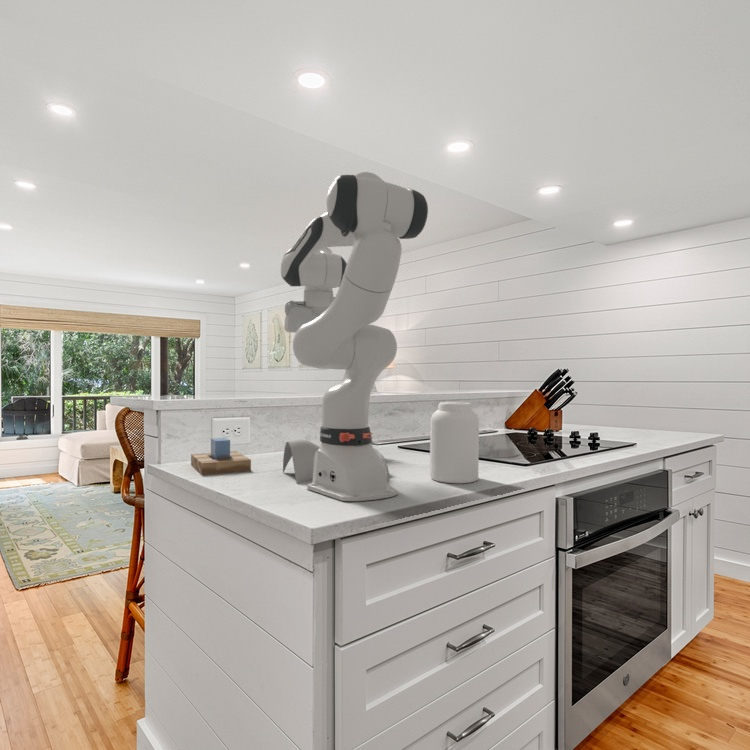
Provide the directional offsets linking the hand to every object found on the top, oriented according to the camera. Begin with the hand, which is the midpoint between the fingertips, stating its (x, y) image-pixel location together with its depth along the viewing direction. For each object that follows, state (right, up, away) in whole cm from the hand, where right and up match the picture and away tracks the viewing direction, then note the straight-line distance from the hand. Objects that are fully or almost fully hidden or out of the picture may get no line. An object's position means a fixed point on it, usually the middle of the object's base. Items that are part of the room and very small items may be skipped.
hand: (317, 348), depth 155 cm
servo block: (-26, -34, -10) cm, 44 cm away
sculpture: (+6, -35, -17) cm, 39 cm away
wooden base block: (-26, -34, -10) cm, 44 cm away
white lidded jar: (+38, -35, -21) cm, 55 cm away
